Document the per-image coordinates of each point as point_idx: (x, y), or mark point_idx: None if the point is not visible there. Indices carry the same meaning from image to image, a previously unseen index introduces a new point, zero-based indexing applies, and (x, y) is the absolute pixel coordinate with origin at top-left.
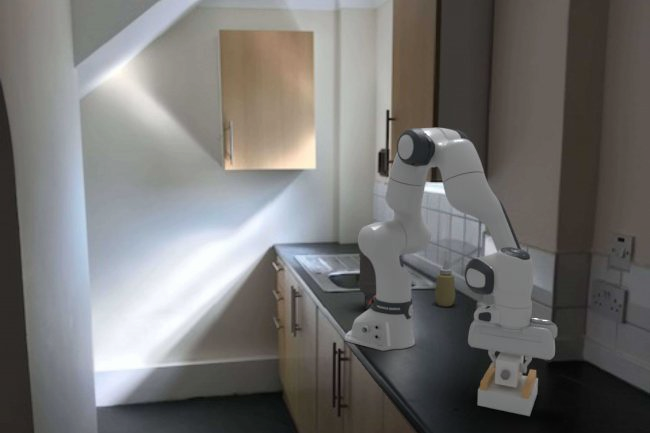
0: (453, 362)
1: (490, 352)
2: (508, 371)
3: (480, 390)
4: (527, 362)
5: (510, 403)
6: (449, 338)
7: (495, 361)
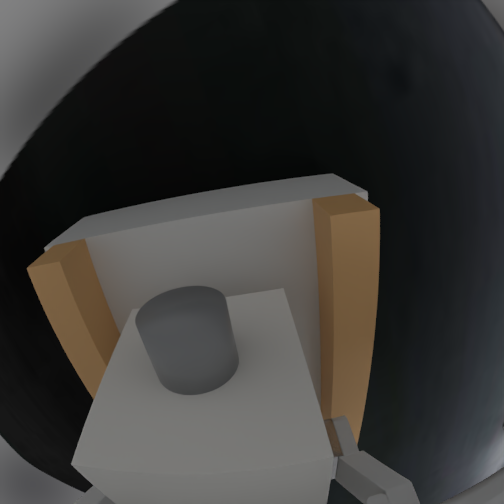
0: (443, 421)
1: (398, 499)
2: (161, 375)
3: (350, 193)
4: (95, 497)
5: (156, 211)
6: (438, 477)
7: (336, 457)
